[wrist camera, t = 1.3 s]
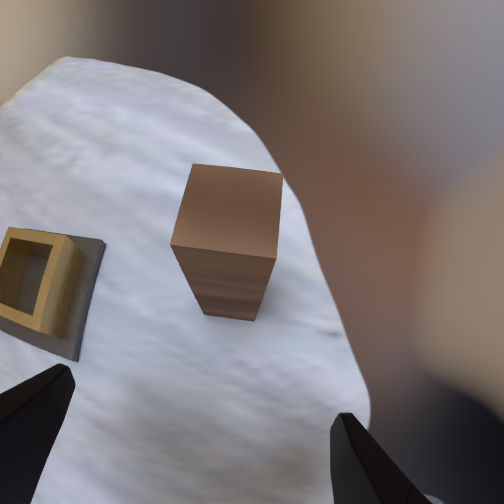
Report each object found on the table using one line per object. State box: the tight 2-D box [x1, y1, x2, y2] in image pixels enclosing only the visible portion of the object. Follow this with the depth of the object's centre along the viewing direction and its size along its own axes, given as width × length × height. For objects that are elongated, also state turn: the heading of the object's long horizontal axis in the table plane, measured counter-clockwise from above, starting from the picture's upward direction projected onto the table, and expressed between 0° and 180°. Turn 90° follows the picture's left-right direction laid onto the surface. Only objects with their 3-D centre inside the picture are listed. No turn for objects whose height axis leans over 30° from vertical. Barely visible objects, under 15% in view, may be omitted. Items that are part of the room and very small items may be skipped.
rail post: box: [170, 164, 283, 321], centre depth 17 cm, size 4×4×13 cm
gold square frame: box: [0, 227, 106, 361], centre depth 20 cm, size 11×11×4 cm
